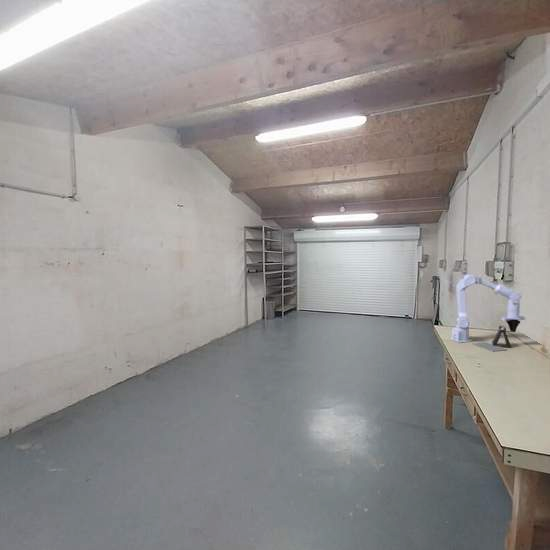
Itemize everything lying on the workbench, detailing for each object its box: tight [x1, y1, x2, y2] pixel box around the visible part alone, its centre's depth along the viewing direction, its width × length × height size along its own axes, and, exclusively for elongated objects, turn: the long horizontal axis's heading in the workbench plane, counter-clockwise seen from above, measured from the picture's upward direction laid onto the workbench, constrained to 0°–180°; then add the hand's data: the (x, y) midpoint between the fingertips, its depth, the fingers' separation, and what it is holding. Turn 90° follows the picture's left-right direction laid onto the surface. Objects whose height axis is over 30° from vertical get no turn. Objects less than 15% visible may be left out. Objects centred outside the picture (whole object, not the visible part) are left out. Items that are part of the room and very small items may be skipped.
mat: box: [472, 342, 509, 353], centre depth 177 cm, size 10×15×1 cm, turn 9°
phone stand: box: [491, 325, 512, 349], centre depth 179 cm, size 9×6×12 cm, turn 57°
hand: (512, 331), depth 180 cm, fingers closed
